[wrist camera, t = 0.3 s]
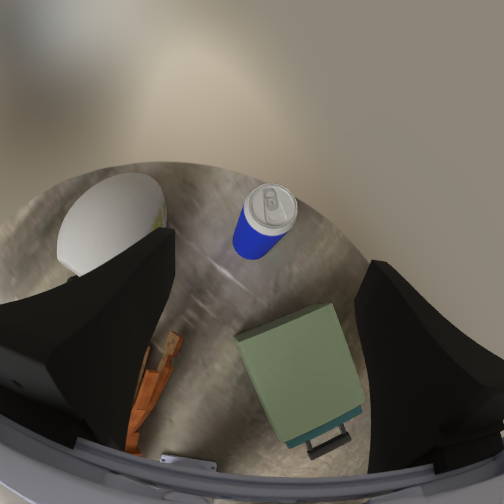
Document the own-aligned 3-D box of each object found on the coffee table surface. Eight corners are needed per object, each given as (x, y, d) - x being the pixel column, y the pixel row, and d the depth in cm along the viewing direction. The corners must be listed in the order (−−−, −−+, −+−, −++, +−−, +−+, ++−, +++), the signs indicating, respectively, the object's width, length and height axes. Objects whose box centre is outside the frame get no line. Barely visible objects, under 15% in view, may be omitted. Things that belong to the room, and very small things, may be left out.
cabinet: (342, 388, 40) (366, 401, 33) (269, 422, 38) (281, 443, 31) (311, 304, 42) (332, 302, 35) (233, 336, 40) (238, 342, 32)
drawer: (352, 424, 39) (370, 437, 33) (289, 455, 37) (300, 473, 31) (316, 324, 41) (333, 326, 35) (245, 354, 39) (251, 362, 33)
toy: (182, 321, 39) (163, 491, 37) (100, 306, 36) (95, 481, 33) (190, 339, 30) (169, 530, 27) (83, 319, 27) (89, 519, 24)
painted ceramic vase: (143, 317, 31) (210, 208, 37) (51, 251, 24) (140, 135, 29) (106, 296, 40) (160, 212, 45) (38, 245, 32) (104, 158, 38)
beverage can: (273, 256, 43) (306, 227, 28) (236, 263, 42) (251, 238, 27) (265, 220, 43) (292, 176, 29) (228, 227, 42) (239, 184, 28)
